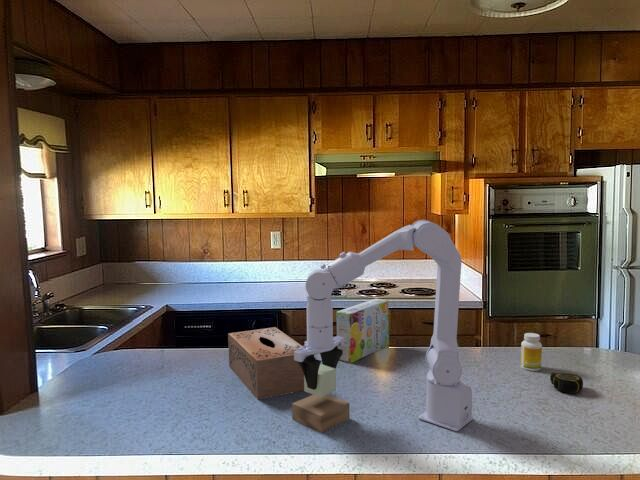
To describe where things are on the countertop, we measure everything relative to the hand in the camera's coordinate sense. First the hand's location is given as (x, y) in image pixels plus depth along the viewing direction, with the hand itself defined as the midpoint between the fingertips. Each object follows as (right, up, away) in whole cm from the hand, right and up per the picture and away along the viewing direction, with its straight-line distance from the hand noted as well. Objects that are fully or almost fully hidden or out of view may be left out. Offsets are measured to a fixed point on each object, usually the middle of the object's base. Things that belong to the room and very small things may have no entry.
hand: (320, 384), depth 113 cm
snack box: (+14, -3, +45) cm, 47 cm away
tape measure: (+62, -6, +15) cm, 64 cm away
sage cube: (0, -1, 0) cm, 2 cm away
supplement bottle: (+59, -4, +30) cm, 66 cm away
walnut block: (0, -8, 0) cm, 8 cm away
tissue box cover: (-14, -6, +25) cm, 30 cm away
